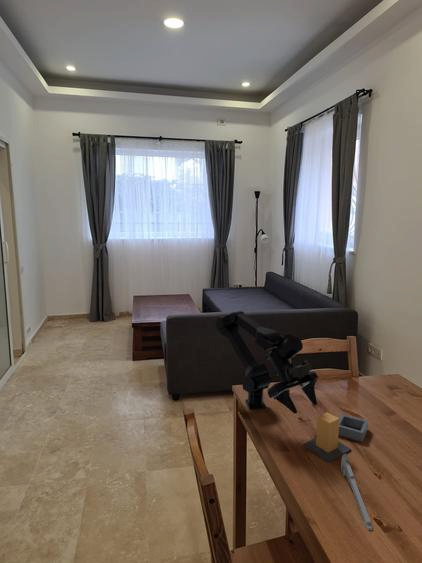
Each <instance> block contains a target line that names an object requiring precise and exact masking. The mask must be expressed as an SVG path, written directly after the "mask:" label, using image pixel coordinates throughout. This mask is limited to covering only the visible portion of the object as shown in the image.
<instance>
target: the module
mask: <svg viewBox="0 0 422 563" xmlns="http://www.w3.org/2000/svg"><path fill="white" fill-rule="evenodd" d="M339 418H340V417H337V416H336V415H333V414H332V413H330V412H324V413H322V414H320V415H318V416H317V417H316V437H315V438H316V446H318V447H320V448H321V449H323V450H324V451H326V452H330V451H332V450H334V449H336V448H338V442H339V435H338V434H339Z"/></svg>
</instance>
